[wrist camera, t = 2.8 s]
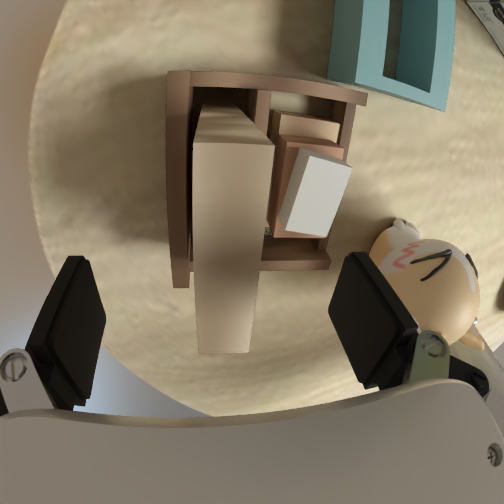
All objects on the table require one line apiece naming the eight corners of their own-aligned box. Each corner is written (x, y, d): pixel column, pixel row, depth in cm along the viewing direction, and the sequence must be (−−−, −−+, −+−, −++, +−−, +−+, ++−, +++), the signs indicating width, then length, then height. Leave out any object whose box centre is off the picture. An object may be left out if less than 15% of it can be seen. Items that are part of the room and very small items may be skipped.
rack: (344, 89, 20) (382, 96, 15) (314, 244, 28) (336, 283, 23) (178, 72, 18) (167, 71, 13) (178, 244, 26) (173, 288, 21)
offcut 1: (325, 117, 22) (340, 123, 19) (306, 213, 27) (316, 229, 24) (272, 109, 21) (281, 114, 19) (258, 210, 26) (264, 227, 23)
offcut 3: (340, 158, 18) (353, 168, 17) (316, 222, 21) (326, 237, 19) (299, 147, 18) (309, 155, 16) (278, 215, 20) (285, 230, 18)
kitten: (450, 220, 29) (530, 300, 17) (413, 284, 34) (472, 371, 22) (357, 187, 25) (461, 295, 13) (319, 273, 31) (376, 395, 18)
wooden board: (235, 104, 20) (275, 145, 9) (228, 220, 26) (248, 352, 14) (202, 104, 20) (193, 142, 8) (199, 220, 25) (198, 354, 14)
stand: (419, -30, 13) (453, -37, 9) (409, 101, 21) (445, 112, 17) (339, -64, 11) (365, -84, 7) (326, 79, 20) (354, 82, 15)
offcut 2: (330, 139, 20) (344, 148, 18) (314, 222, 24) (324, 237, 22) (278, 134, 19) (287, 141, 17) (267, 221, 23) (273, 237, 21)
